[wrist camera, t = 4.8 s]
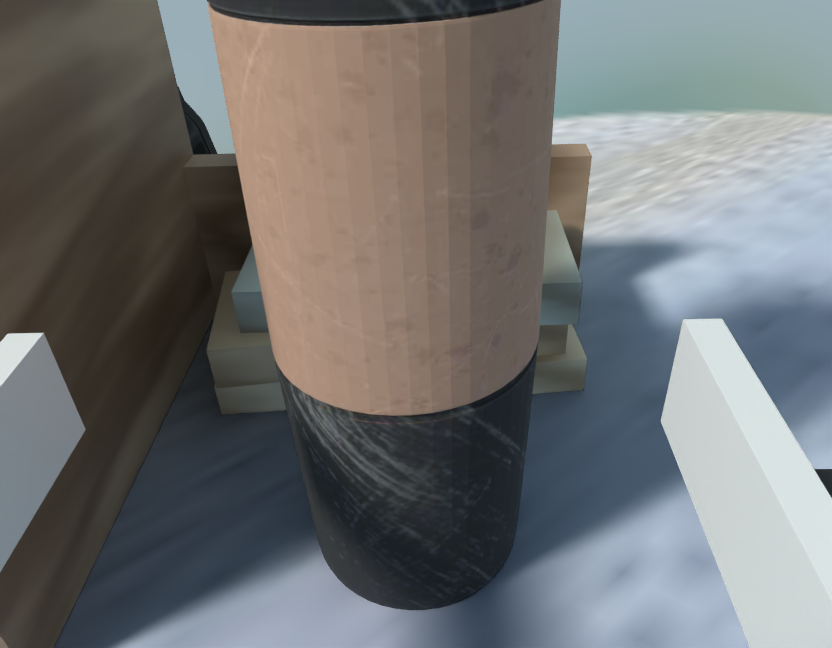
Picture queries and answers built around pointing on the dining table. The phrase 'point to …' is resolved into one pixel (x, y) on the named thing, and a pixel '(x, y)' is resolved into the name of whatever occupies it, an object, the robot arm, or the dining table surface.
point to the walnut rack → (117, 261)
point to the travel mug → (399, 266)
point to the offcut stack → (255, 364)
